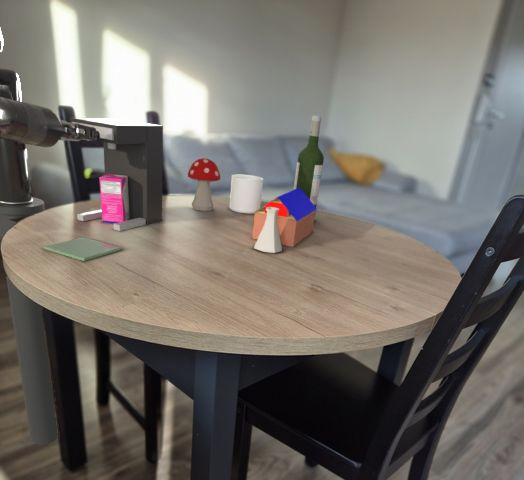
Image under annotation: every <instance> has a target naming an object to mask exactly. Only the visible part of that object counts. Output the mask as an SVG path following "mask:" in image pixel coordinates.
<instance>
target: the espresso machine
mask: <svg viewBox="0 0 524 480" xmlns="http://www.w3.org/2000/svg"><path fill="white" fill-rule="evenodd" d="M69 119H70V123H76V124H77V123H78V124H80V125H84V126H89V127H94V128H96V131H99V133H100V141H99V142H101V143H103V165H104V167H103V168H104V175H106V174H113V175H124V176H128V194H129V216H130V220H127V221H123V222H118V223H114V224H113V231H118V232H122V231H126V230H130V229H134V228H138V227H142V226H146V225H150V224H154V223H158V222H161V221H163V165H164V164H163V160H164V159H163V158H164V157H163V156H164V155H163V153H164V151H163V150H164V147H163V146H164V143H163V142H164V125H161V124H155V123H147V122H143V121H142V122H141V121H134V120H130V119H123V118H104V117H103V118H101V117H100V118H99V117H98V118H97V117H95V118H94V117H70V118H69ZM71 127H72V128H75V127H74V126H71ZM71 137H73V138H75V133H72V136H71ZM76 216H77V221H81V222H88V221H92V220H96V219H102V209H96V210H92V211H87V212H81V213H77V214H76Z"/></svg>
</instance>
